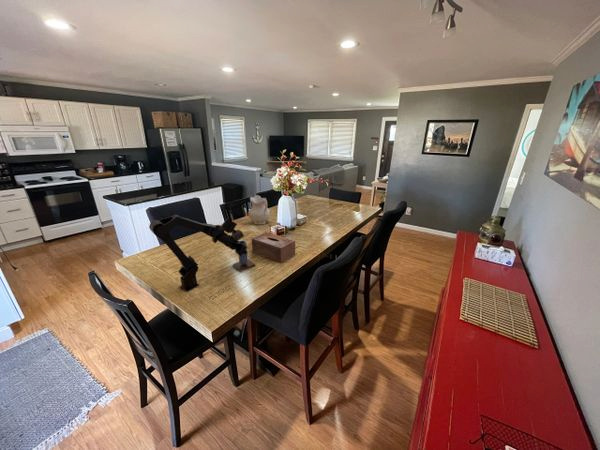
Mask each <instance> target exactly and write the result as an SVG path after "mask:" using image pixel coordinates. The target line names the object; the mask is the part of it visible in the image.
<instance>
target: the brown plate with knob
mask: <svg viewBox="0 0 600 450" xmlns="http://www.w3.org/2000/svg"><path fill="white" fill-rule="evenodd" d="M255 266H256V264H255V263H254V262H252V261H251V260H250V259H248V262H247V263H245V264H240V262H239V261H237V262H235V263H232V267H233V268H235V269H236V270H237V271H239V272H244V271H245V270H248V269H251V268H253V267H255Z"/></svg>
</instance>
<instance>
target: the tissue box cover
mask: <svg viewBox="0 0 600 450" xmlns="http://www.w3.org/2000/svg"><path fill="white" fill-rule="evenodd" d="M250 239H251V252H252V253H253V254H257V255H259V256H261V257H265V258H267V259H270V260H273V261H276V262H278V263H284V262H286V261H287V260H289V259H291V258H292V257H293V256H295V255H296V240H294V239H291V238H288V237H284V236H281V235H278V234H274V233H271V232H268V231H266V232H263V233H261V234H258V235H256V236H254V237H252V238H250Z"/></svg>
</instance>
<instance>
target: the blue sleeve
mask: <svg viewBox="0 0 600 450" xmlns="http://www.w3.org/2000/svg"><path fill="white" fill-rule="evenodd" d="M238 241H239V242H238V244H240V243H243V244H244V245H246V246H247V241H246V240H238ZM246 251H247V252H248V247H247V248H246ZM248 260H249V259H248V253H247V254H242V255H241V256H240V255H238V262H240V264H245V263H247V262H248Z"/></svg>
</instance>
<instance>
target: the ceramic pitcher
mask: <svg viewBox="0 0 600 450" xmlns="http://www.w3.org/2000/svg"><path fill="white" fill-rule="evenodd" d="M249 200H250V203H251V208H250V209H249V210H248V213H247V214H248V217H249V219H250V220H251V221H252V222H253V224H254V225H265V224H267V220H269V218H270V215H271V211H270V209H269V208H268V200H267V197H261V196H260V195H258V194H256V195H254V197H252V196H250V198H249Z"/></svg>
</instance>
